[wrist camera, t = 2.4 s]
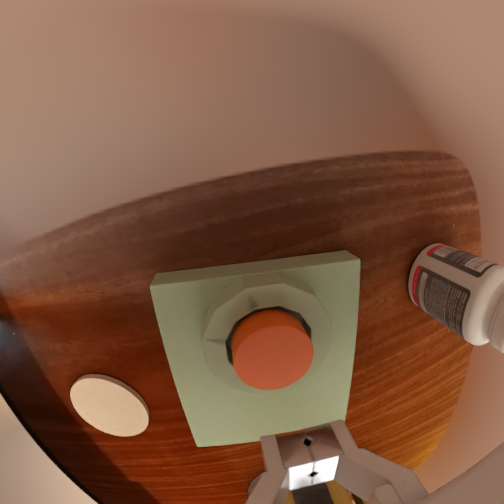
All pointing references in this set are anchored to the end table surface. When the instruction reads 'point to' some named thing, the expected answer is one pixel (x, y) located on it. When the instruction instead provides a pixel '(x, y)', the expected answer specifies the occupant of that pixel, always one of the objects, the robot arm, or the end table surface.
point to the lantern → (317, 494)
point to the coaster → (109, 405)
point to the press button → (271, 350)
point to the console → (226, 321)
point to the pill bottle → (460, 293)
